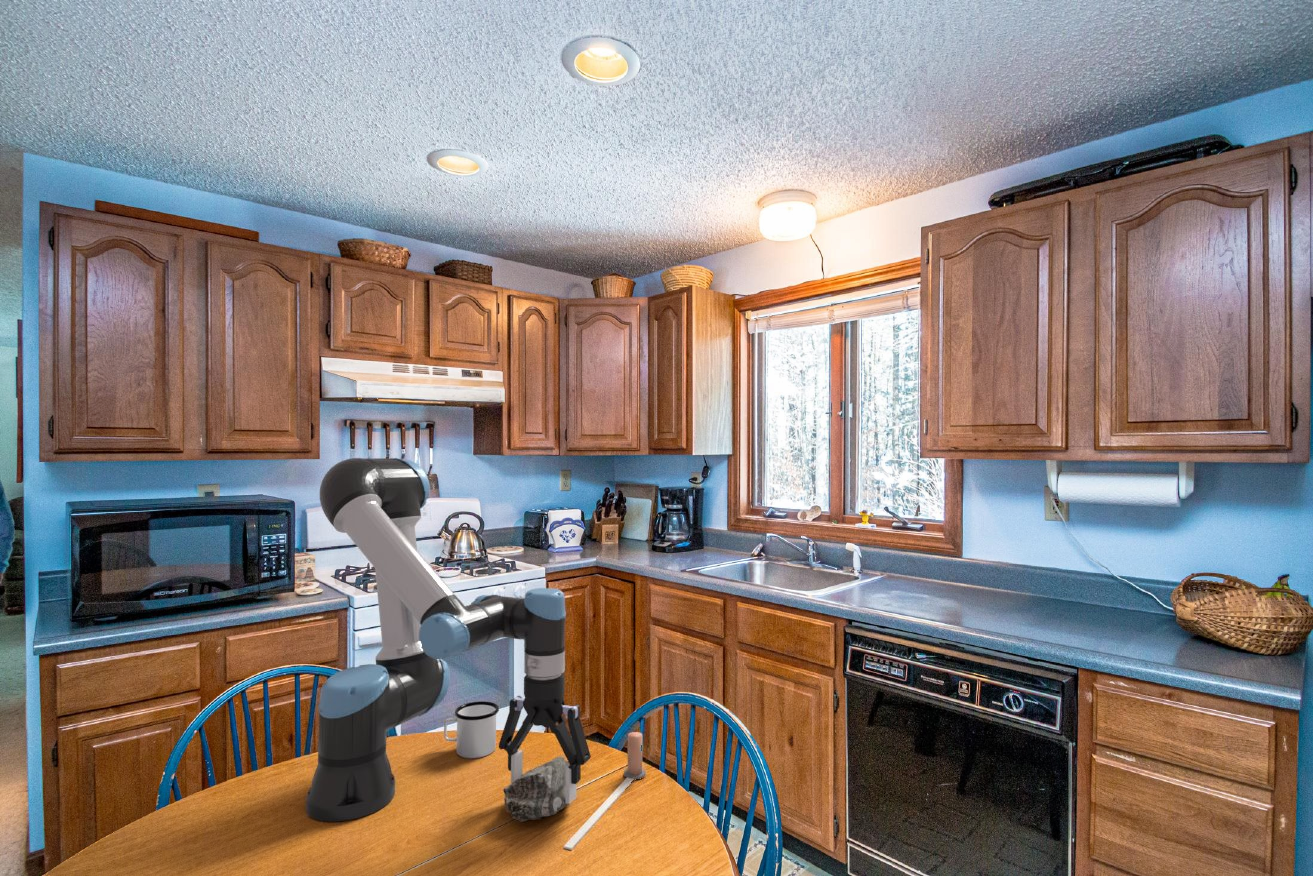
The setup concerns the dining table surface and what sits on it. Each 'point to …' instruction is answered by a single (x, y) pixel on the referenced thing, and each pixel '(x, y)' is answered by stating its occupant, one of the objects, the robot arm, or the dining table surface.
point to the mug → (475, 729)
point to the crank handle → (630, 773)
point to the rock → (538, 791)
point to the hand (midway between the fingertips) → (543, 794)
